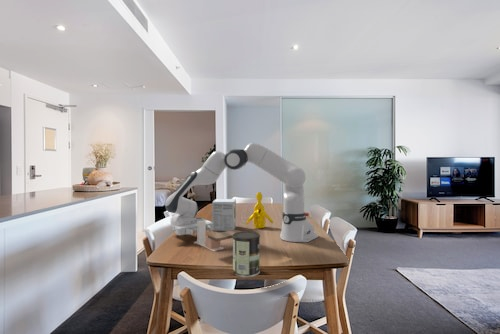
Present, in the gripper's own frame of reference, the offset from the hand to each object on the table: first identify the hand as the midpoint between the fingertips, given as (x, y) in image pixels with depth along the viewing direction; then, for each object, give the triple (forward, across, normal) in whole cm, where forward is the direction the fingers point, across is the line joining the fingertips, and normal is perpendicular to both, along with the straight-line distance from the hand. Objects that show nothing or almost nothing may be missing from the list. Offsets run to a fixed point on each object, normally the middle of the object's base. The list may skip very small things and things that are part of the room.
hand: (201, 230), depth 135 cm
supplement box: (-21, +28, +7) cm, 36 cm away
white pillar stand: (+6, 0, +7) cm, 9 cm away
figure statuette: (-9, +47, +7) cm, 48 cm away
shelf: (+20, 0, +7) cm, 21 cm away
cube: (+10, 0, +6) cm, 11 cm away
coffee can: (+39, -4, +7) cm, 40 cm away
